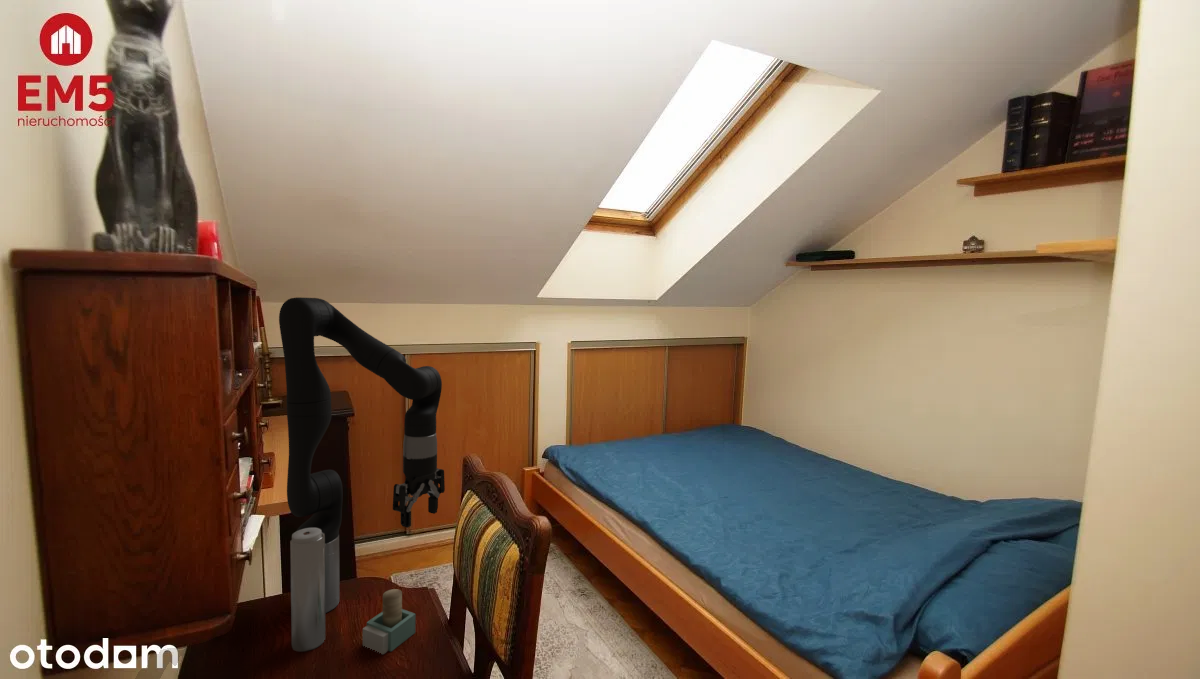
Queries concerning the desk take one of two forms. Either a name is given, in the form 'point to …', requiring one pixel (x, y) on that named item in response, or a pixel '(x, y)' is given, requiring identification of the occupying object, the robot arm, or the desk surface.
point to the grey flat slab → (375, 639)
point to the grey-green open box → (396, 628)
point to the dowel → (392, 607)
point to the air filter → (307, 589)
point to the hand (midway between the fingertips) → (419, 519)
